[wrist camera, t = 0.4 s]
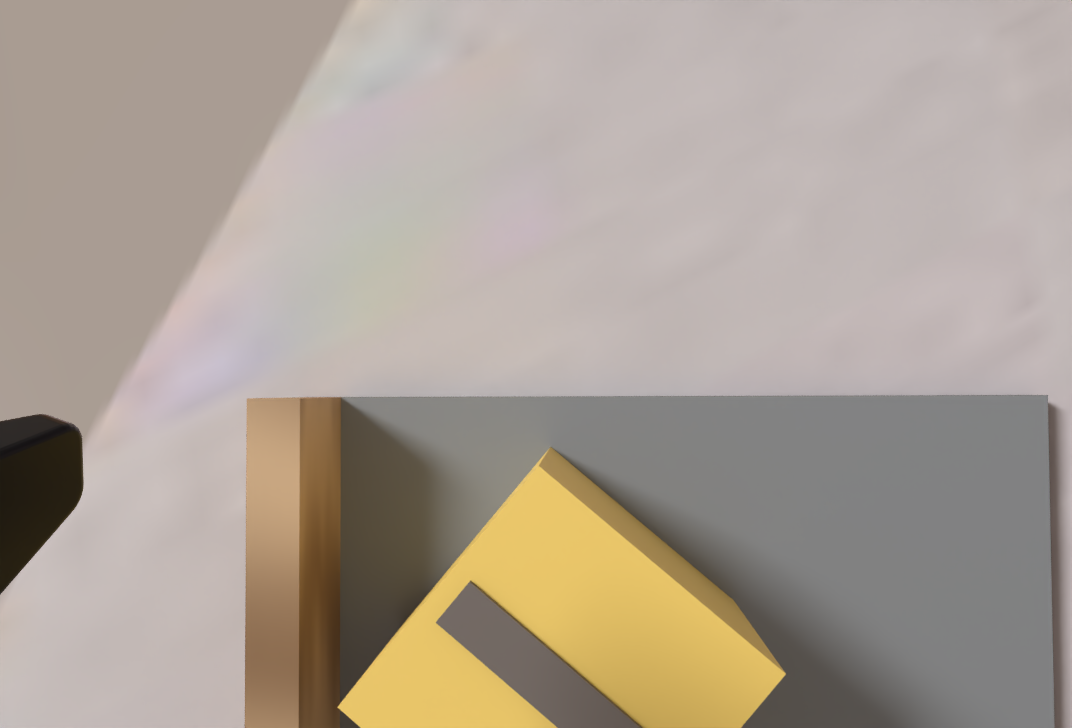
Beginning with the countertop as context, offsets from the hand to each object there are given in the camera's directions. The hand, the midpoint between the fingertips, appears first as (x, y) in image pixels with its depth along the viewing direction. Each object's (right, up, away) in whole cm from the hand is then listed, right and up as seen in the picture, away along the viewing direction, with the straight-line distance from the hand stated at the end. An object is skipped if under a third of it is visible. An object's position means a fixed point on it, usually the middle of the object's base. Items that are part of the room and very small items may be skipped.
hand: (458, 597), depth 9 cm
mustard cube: (+2, -4, +14) cm, 15 cm away
